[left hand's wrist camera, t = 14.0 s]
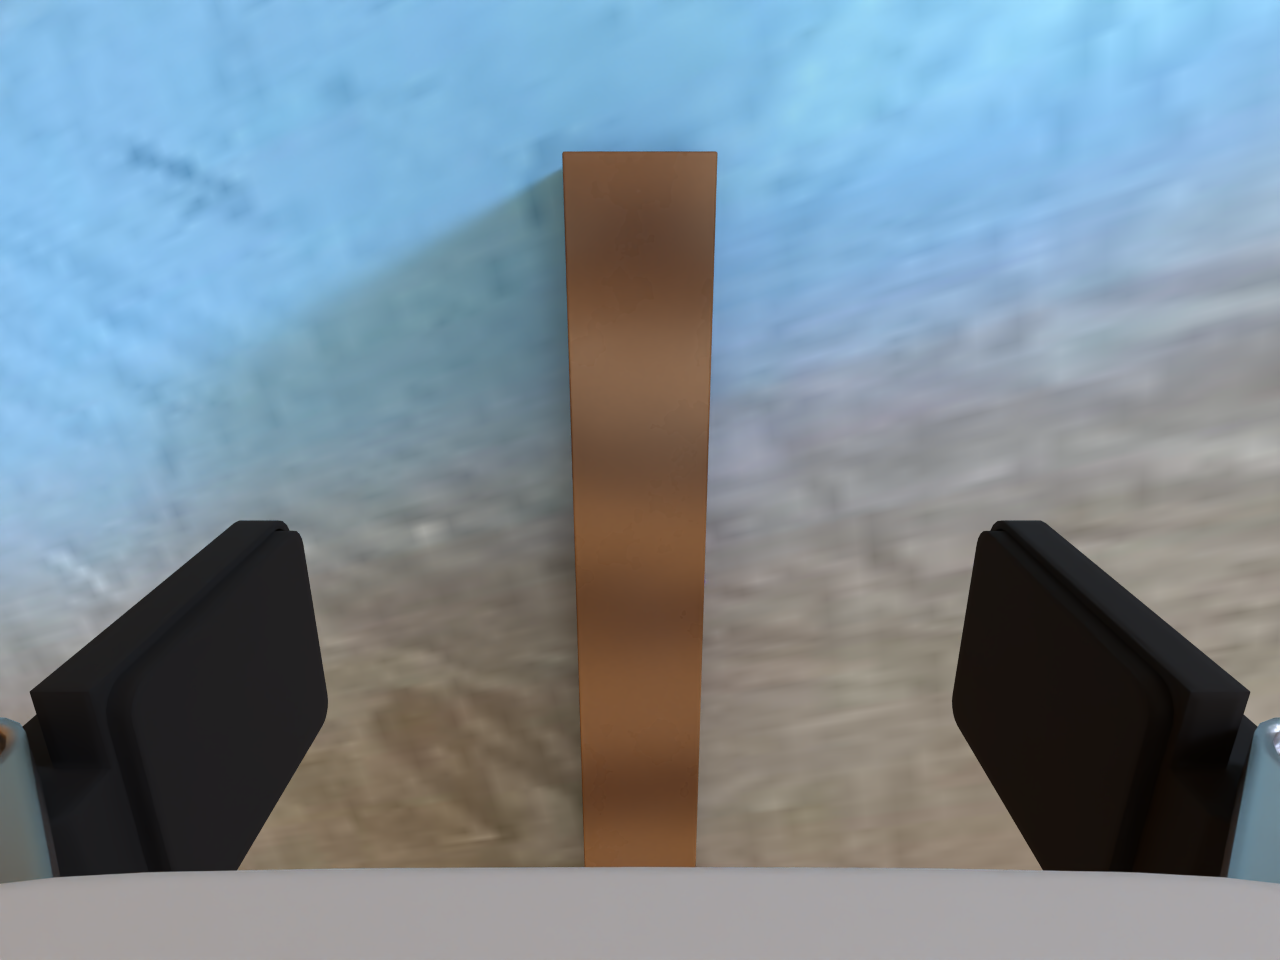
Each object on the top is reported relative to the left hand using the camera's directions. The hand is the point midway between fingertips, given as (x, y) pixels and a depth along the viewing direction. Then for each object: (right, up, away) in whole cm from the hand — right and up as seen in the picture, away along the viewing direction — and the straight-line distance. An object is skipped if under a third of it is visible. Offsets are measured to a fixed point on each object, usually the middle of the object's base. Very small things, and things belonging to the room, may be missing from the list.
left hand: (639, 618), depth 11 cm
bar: (0, -9, +29) cm, 30 cm away
